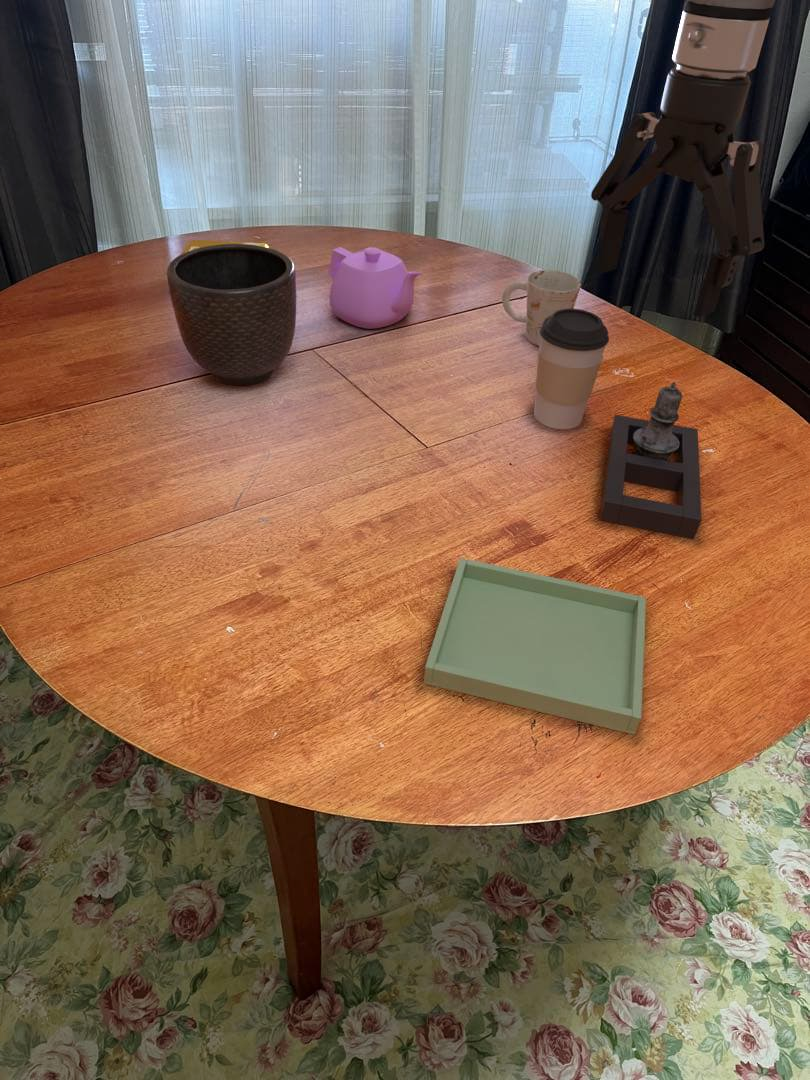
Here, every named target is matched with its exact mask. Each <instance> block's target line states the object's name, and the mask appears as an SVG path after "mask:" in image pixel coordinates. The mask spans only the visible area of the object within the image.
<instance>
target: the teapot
mask: <svg viewBox="0 0 810 1080" xmlns="http://www.w3.org/2000/svg"><path fill="white" fill-rule="evenodd" d="M421 274H422V271H418V270H412V271H408V270H407V267H406V265H405V263H404V261H403V260H402V258H401V257H399V256H397V255H394V254H392V253H389V252H387V251H383V250H381V249H380V248H377V247H367V248H365V249H363V250H362V251H361V250H360V251H357V252H354V253H353V252H352V251H350V250H348V249H346V248H344V247H342V246H338V247H336V248H333V249H332V252H331V258H330V263H329V268H328V275H329V276H330V278H331V280H332V283H331V286H330V292H329V305H330V308H331V310H332V311H333V313H334V314H335V316H337V318H338V319H340V320H342V321H344V322H345V323H348V324H350V325H352V326H355V327H358V328H361V329H367V330H368V329H369V330H371V329H372V330H373V329H379V328H383V327H388V326H391V325H394V324H396V323H399V321H400V322H401V320H403V319H404V318H405V317H406V316H407V315H408V314H409V312H410V311H411V309H412V307H413V305H414V296H415V295H414V294H415V281H416V279H417V277H418V276H419V275H421Z"/></svg>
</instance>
